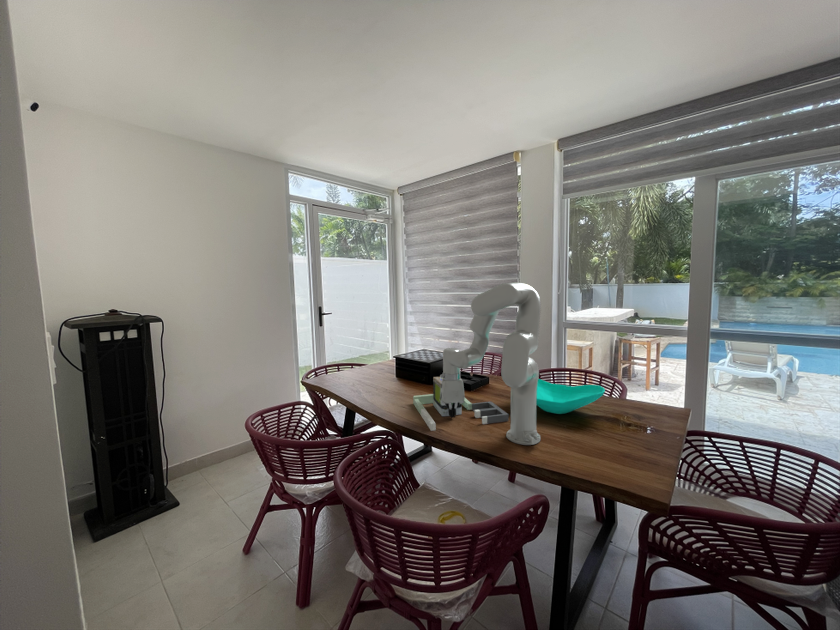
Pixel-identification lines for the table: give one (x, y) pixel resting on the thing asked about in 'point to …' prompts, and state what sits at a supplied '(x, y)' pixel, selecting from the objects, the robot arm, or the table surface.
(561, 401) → the table top decor
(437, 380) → the tea box
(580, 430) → the table surface
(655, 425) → the table surface
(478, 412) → the lane
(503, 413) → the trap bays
